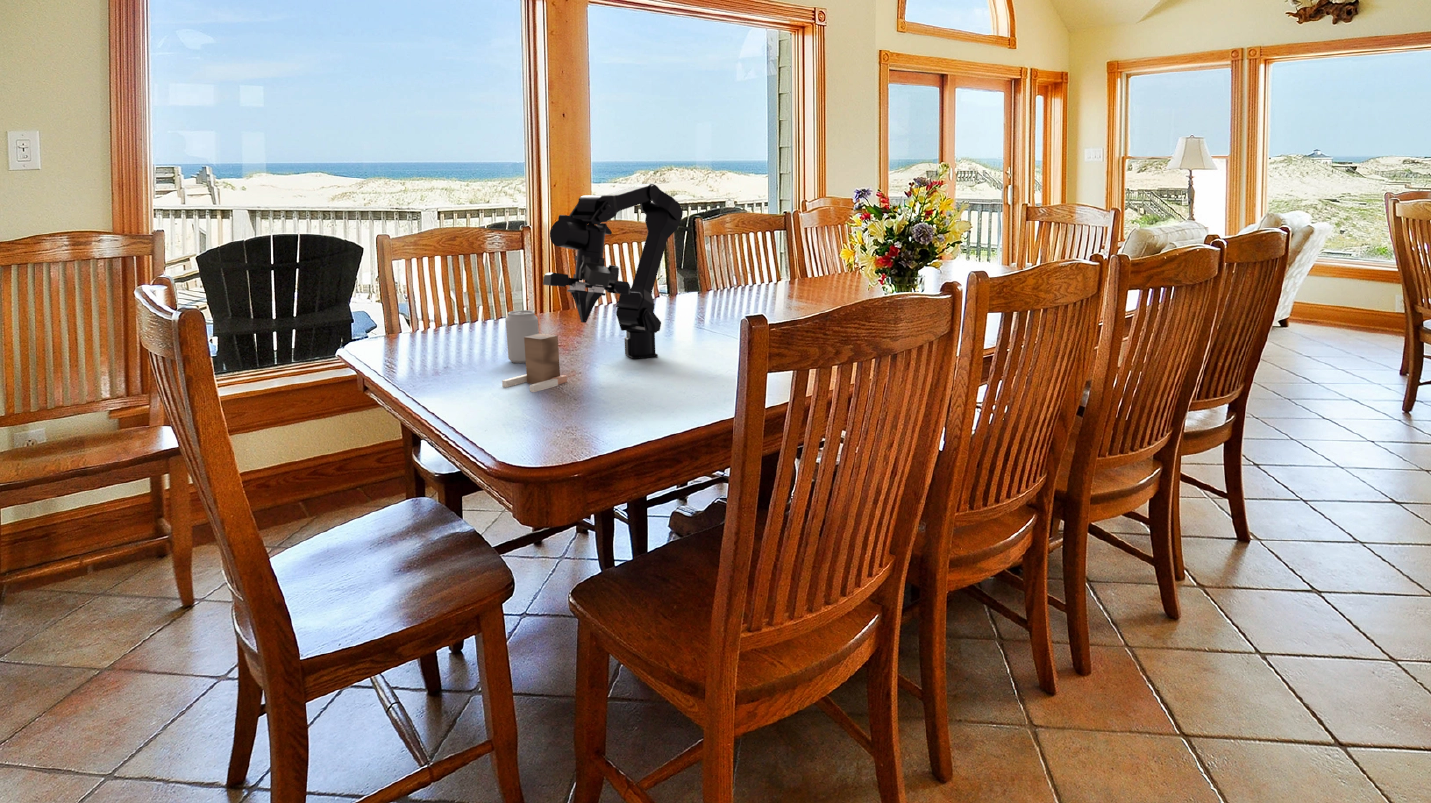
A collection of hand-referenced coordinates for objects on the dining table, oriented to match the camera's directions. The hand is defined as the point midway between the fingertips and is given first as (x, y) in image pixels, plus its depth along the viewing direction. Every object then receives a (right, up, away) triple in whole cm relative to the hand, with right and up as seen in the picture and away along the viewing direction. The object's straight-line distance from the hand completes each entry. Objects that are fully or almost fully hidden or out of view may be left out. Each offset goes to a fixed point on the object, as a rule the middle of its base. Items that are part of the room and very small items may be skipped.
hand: (583, 322), depth 214 cm
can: (-16, -8, +15) cm, 23 cm away
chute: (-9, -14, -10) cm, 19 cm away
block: (-7, -13, -8) cm, 17 cm away
